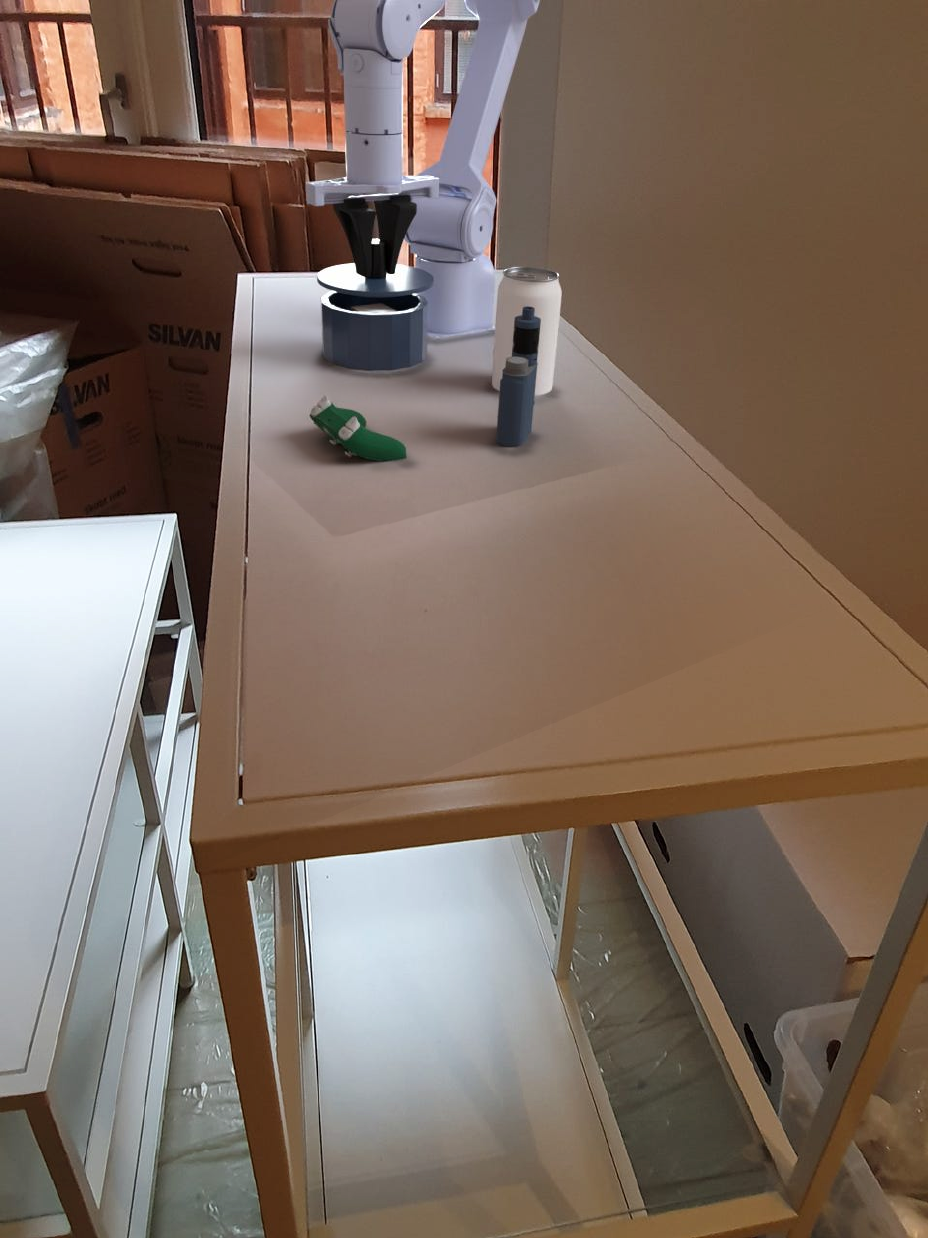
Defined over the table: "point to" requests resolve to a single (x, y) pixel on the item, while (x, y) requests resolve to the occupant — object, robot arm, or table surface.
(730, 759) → the table surface
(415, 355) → the tin
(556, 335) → the can
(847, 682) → the table surface
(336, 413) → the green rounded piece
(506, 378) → the vaping device
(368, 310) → the block
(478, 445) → the table surface
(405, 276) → the lid
